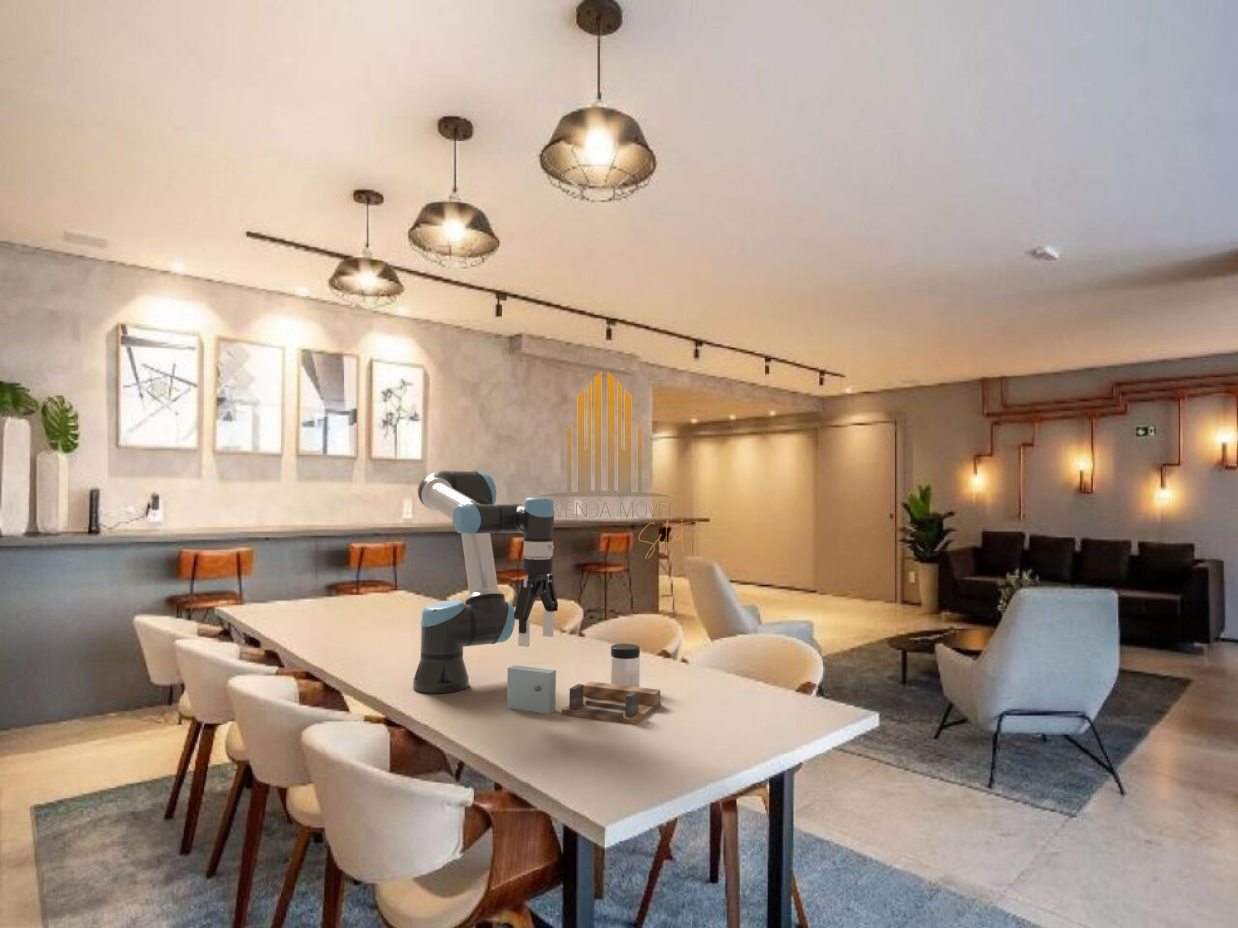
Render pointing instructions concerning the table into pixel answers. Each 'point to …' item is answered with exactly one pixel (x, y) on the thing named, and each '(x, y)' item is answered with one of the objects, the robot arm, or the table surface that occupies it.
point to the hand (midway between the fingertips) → (536, 641)
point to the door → (531, 689)
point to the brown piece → (612, 702)
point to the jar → (625, 664)
